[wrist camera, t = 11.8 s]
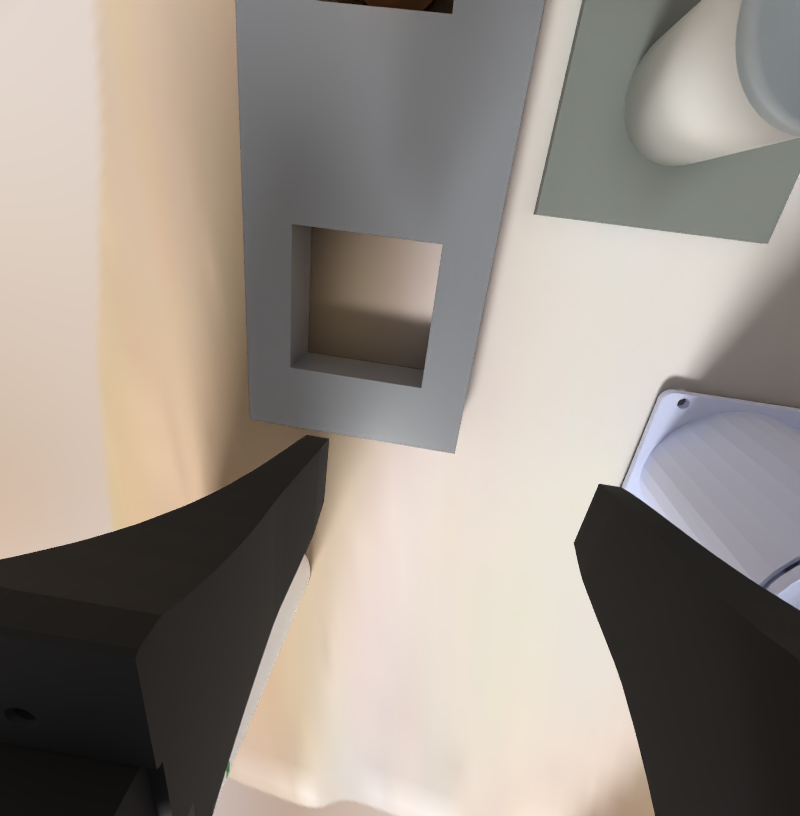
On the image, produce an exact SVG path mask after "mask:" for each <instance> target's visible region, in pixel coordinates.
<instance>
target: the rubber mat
mask: <svg viewBox="0 0 800 816" xmlns="http://www.w3.org/2000/svg"><path fill="white" fill-rule="evenodd" d="M700 1H701V0H582V4H581V9H580V13H579V18H578V22H577V26H576V31H575V35H574V40H573V44H572V48H571V53H570V57H569V62H568V66H567V70H566V75H565V79H564V83H563V88H562V92H561V97H560V101H559V105H558V110H557V114H556V119H555V123H554V127H553V132H552V136H551V141H550V145H549V149H548V154H547V158H546V162H545V167H544V171H543V176H542V180H541V184H540V189H539V193H538V198H537V202H536V206H535V211H534V214H536V215H543V216H551V217H559V218H567V219H575V220H583V221H590V222H598V223H606V224H614V225H622V226H630V227H638V228H645V229H653V230H661V231H669V232H677V233H685V234H692V235H700V236H708V237H716V238H724V239H732V240H739V241H747V242H755V243H767V244H768V242H769V240H770V238H771V235H772V233H773V231H774V229H775V226H776V224H777V222H778V220H779V218H780V215H781V213H782V211H783V209H784V206H785V204H786V202H787V200H788V198H789V195H790V193H791V191H792V189H793V186H794V184H795V182H796V180H797V178H798V175H799V173H800V138H796V139H792V140H788V141H784V142H780V143H776V144H771V145H767V146H763V147H759V148H755V149H751V150H747V151H743V152H738V153H734V154H730V155H726V156H722V157H718V158H714V159H710V160H705V161H701V162H697V163H693V164H689V165H684V166H664V165H659V164H657V163H654V162H652V161H650V160H648V159H646V158H645V157H644V156H643V155H641V154H640V153H639V152H638V151H637V149H636V148H635V147H634V145H633V144H632V142H631V140H630V138H629V135H628V133H627V129H626V125H625V117H624V107H625V99H626V94H627V90H628V86H629V83H630V80H631V78H632V76H633V73H634V71H635V69H636V67H637V66H638V64H639V62H640V61H641V59H642V58H643V56H644V55H645V53H646V52H647V51H648V50H649V48H650V47H651V46H652V45H653V44H654V43H655V42H656V41H657V40H658V39H659V38H660V37H661V36H662V35H664V34H665V33H666V32H667V31H668V30H669V29H670V28H671V27H672V26H674V25H675V24H676V23H677V22H678V21H679V20H680V19H681V18H682V17H683V16H685V15H686V14H687V13H688V12H689V11H690V10H691V9H692V8H693V7H694V6H696V5H697V4H698V3H699V2H700Z"/></svg>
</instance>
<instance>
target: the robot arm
mask: <svg viewBox="0 0 800 816" xmlns="http://www.w3.org/2000/svg"><path fill="white" fill-rule="evenodd" d="M685 398H686V401H685V403H684V404H682V405H679V406H677V404H678V402H679V400H681V399H685ZM328 447H329V439H327V438H321V437H315V436H309V435H306V436H304V437H303V438H301V439H300V440H298V441H297V442H295V443H294V444H292V445H291V446H290V447H288V448H287V449H285V450H284V451H282V452H281V453H279V454H278V455H277V456H275V457H274V458H272V459H271V460H269V461H268V462H266V463H264V464H263V465H261V466H260V467H258V468H257V469H255V470H253V471H252V472H250V473H248V474H247V475H245V476H243V477H241V478H240V479H238V480H236V481H235V482H233V483H231V484H229V485H228V486H226V487H224V488H222V489H220V490H218V491H216V492H214V493H212V494H210V495H208V496H206V497H203V498H201V499H199V500H197V501H195V502H193V503H190V504H188V505H186V506H183V507H181V508H178V509H176V510H173V511H170V512H168V513H165V514H163V515H160V516H157V517H155V518H152V519H149V520H147V521H144V522H141V523H139V524H136V525H133V526H129V527H126V528H123V529H120V530H117V531H114V532H110V533H107V534H104V535H100V536H97V537H93V538H90V539H86V540H83V541H79V542H75V543H71V544H67V545H63V546H58V547H54V548H50V549H46V550H41V551H37V552H33V553H29V554H24V555H20V556H15V557H11V558H6V559H1V560H0V816H212V815H213V812H214V808H215V805H216V802H217V798H218V795H219V792H220V788H221V785H222V782H223V778H224V775H225V772H226V769H227V765H228V762H229V759H230V756H231V753H232V749H233V746H234V743H235V740H236V737H237V734H238V730H239V727H240V724H241V721H242V718H243V714H244V711H245V708H246V705H247V702H248V699H249V696H250V693H251V690H252V687H253V684H254V681H255V678H256V675H257V672H258V669H259V666H260V663H261V660H262V657H263V654H264V651H265V648H266V645H267V642H268V639H269V636H270V633H271V631H272V628H273V625H274V622H275V620H276V617H277V615H278V612H279V610H280V607H281V605H282V603H283V601H284V599H285V596H286V594H287V592H288V590H289V588H290V585H291V583H292V581H293V579H294V577H295V574H296V572H297V570H298V568H299V566H300V563H301V561H302V559H303V557H304V555H305V552H306V550H307V548H308V546H309V543H310V541H311V539H312V537H313V534H314V531H315V528H316V525H317V522H318V519H319V516H320V512H321V509H322V506H323V502H324V494H325V482H326V471H327V459H328ZM574 546H575V550H576V555H577V560H578V564H579V568H580V572H581V576H582V580H583V583H584V585H585V588H586V591H587V593H588V596H589V599H590V601H591V604H592V606H593V609H594V612H595V614H596V617H597V619H598V622H599V624H600V627H601V629H602V632H603V635H604V637H605V640H606V642H607V645H608V647H609V650H610V652H611V655H612V658H613V660H614V663H615V665H616V668H617V671H618V674H619V677H620V680H621V683H622V686H623V689H624V693H625V697H626V700H627V704H628V707H629V711H630V714H631V718H632V721H633V725H634V729H635V733H636V736H637V740H638V744H639V748H640V752H641V756H642V760H643V764H644V768H645V772H646V776H647V780H648V785H649V790H650V794H651V799H652V803H653V808H654V812H655V816H800V408H793V407H786V406H780V405H773V404H767V403H760V402H753V401H747V400H740V399H734V398H727V397H720V396H714V395H707V394H700V393H694V392H687V391H681V390H674V389H669V390H666V391H664V392H662V393H661V394H660V395H659V397H658V399H657V401H656V404H655V406H654V409H653V411H652V414H651V416H650V419H649V421H648V424H647V426H646V428H645V431H644V433H643V436H642V438H641V441H640V443H639V446H638V448H637V451H636V453H635V455H634V458H633V460H632V463H631V465H630V468H629V470H628V473H627V475H626V478H625V480H624V482H623V485H622V487H615V486H609V485H603V484H599V485H598V488H597V490H596V492H595V495H594V497H593V499H592V502H591V504H590V506H589V509H588V511H587V513H586V516H585V518H584V520H583V523H582V525H581V528H580V530H579V532H578V535H577V537H576V539H575V542H574Z"/></svg>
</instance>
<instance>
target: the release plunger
mask: <svg viewBox="0 0 800 816" xmlns="http://www.w3.org/2000/svg"><path fill="white" fill-rule="evenodd" d="M364 1H365V2H366V3H367V4H368V5H369V6H376V7H386V8H396V9H406V10H416V11H422V10H423V9H424V8H426V7H427V6H428V5H429V4H430V3H431V2H432V1H433V0H364Z"/></svg>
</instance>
